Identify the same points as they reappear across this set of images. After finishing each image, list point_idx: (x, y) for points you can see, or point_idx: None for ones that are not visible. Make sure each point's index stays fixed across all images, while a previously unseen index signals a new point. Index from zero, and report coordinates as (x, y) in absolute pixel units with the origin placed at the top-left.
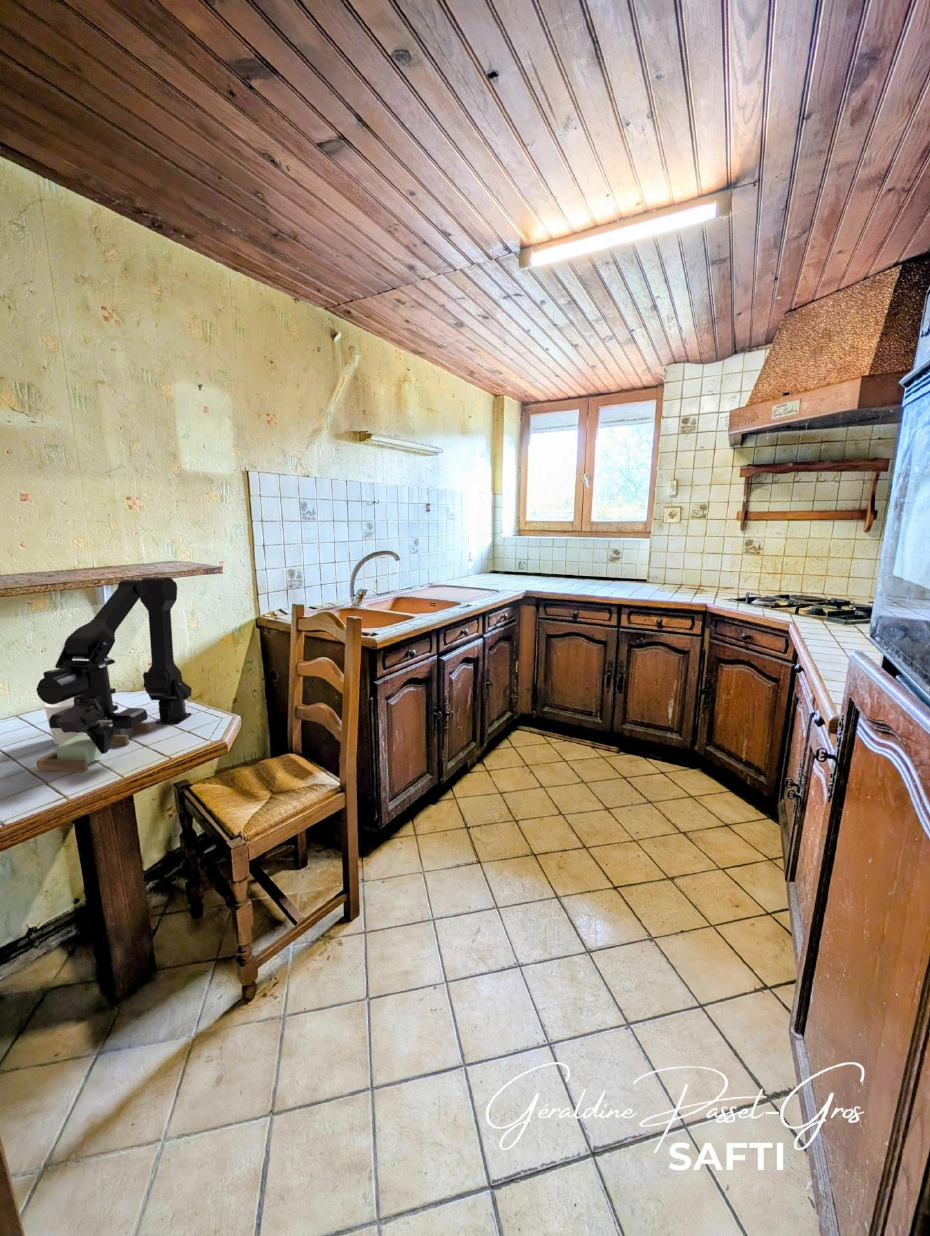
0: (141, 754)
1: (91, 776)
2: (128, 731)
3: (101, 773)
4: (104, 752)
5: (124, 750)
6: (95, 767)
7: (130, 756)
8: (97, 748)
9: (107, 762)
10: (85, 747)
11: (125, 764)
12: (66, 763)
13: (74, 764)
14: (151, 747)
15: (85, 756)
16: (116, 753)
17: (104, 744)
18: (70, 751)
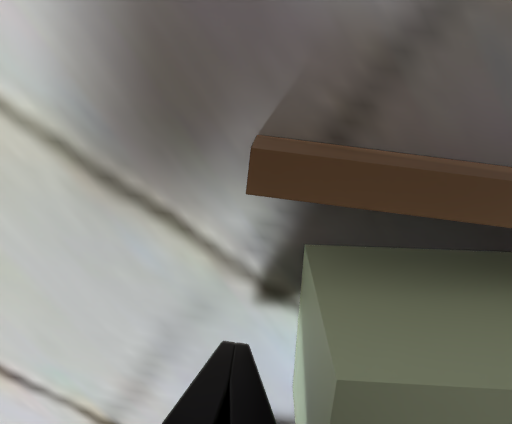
0: (50, 342)
1: (141, 42)
2: None
3: (98, 94)
4: (218, 347)
5: None
6: (221, 203)
7: (97, 326)
8: (302, 402)
9: (187, 267)
10: (330, 371)
11: (36, 224)
12: (437, 169)
13: (348, 157)
14: (65, 408)
15: (319, 285)
16: None
17: (170, 415)
18: (494, 337)
